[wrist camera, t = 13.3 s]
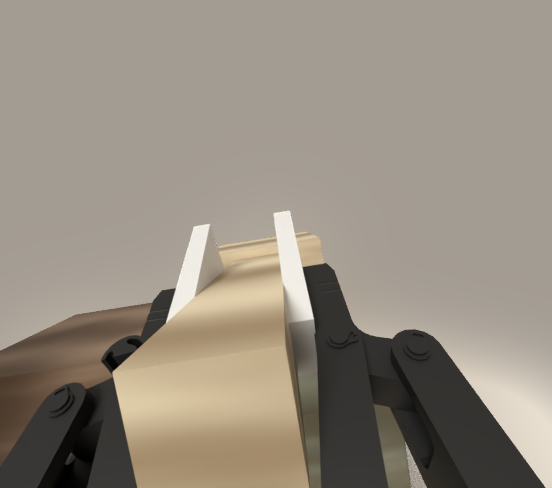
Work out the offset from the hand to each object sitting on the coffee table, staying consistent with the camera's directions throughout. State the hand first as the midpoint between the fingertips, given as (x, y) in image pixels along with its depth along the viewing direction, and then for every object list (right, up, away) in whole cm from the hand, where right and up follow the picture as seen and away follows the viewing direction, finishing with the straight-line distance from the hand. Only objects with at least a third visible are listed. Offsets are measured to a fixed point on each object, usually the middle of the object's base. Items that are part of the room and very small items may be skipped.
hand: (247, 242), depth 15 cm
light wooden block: (+1, -4, +3) cm, 5 cm away
